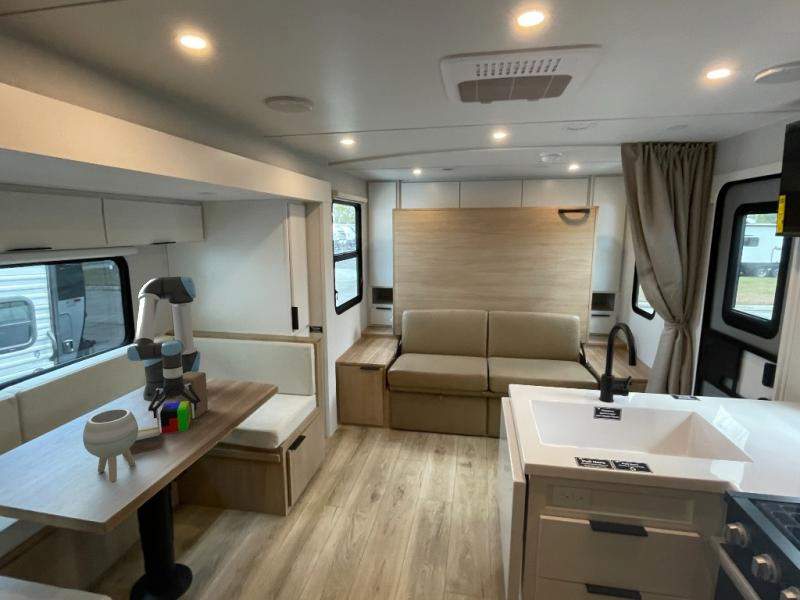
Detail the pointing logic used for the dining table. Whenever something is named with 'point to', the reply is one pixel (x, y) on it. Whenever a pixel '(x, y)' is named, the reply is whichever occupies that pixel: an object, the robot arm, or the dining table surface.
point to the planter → (111, 438)
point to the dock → (147, 440)
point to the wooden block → (200, 389)
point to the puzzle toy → (175, 417)
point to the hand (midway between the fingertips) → (176, 421)
